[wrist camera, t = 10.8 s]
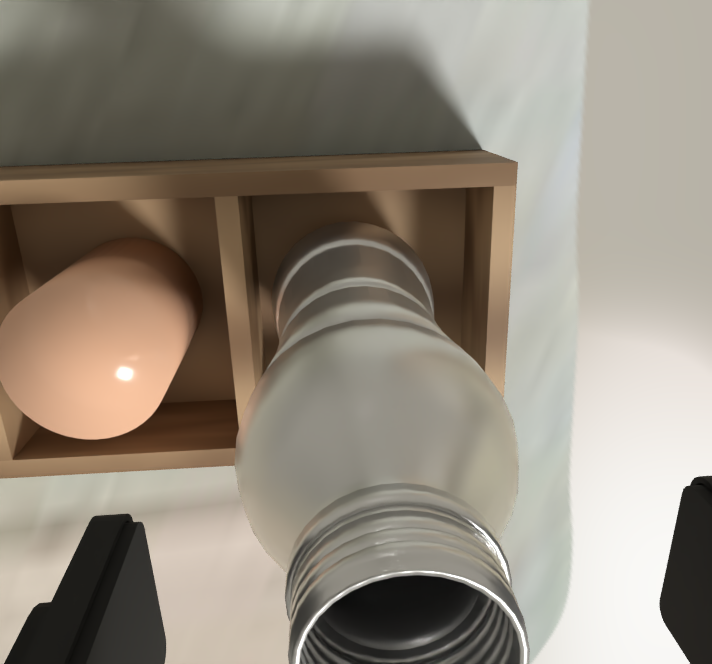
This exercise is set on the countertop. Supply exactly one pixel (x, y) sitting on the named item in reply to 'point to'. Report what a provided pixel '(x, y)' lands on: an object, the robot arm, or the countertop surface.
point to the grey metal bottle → (379, 465)
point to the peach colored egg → (101, 339)
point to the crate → (248, 272)
